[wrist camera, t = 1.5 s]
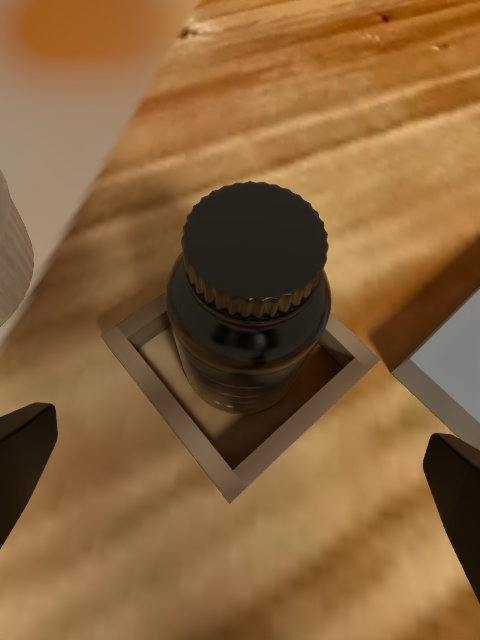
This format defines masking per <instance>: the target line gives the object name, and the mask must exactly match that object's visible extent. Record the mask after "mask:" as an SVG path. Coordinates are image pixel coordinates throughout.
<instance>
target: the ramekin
mask: <svg viewBox="0 0 480 640" xmlns="http://www.w3.org/2000/svg"><path fill="white" fill-rule="evenodd" d="M33 266H34V263H33V250H32V245H31V241H30V238H29V236H28V233H27V230H26V228H25V226H24V223H23V221H22V219H21V217H20V215H19V213H18V211H17V209H16V207H15V206H14V204H13V202H12V200H11V198H10V195H9V190H8V186H7V183H6V180H5V178H4V176H3V174H2V172H1V170H0V327H1V326H2V325H3V324H4V323H5V322H6V321H7V320H8V319H9V318H10V316H11V315H12V314H13V313H14V312H15V310H16V309H17V308H18V306H19V304H20V303H21V301H22V300H23V298H24V297H25V294H26V291H27V290H28V288H29V285H30V281H31V278H32V274H33Z"/></svg>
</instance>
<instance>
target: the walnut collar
mask: <svg viewBox="0 0 480 640" xmlns="http://www.w3.org/2000/svg"><path fill="white" fill-rule="evenodd" d="M165 294H166V293H164V294H163V295H161V296H160V297H158V298H157V299H155V300H154V301H152V302H151V303H149V304H148V305H146V306H145V307H143V308H142V309H140V310H139V311H137V312H136V313H134V314H133V315H131V316H130V317H129V318H127V319H126V320H124V321H123V322H121V323H120V324H118V325H117V326H115V327H114V328H112V329H111V330H109V331H108V332H106V333H105V334H103V335H102V336H101V337H102V338H103V340H104V341H105V343H106V344H107V345H108V347H109V348H110V350H111V351H112V352H113V354H114V355H115V356H116V358H117V359H118V360H119V361H120V363H121V364H122V365H123V367H124V368H125V369H126V370H127V372H128V373H129V374H130V376H131V377H132V378H133V380H134V381H135V382H136V383H137V385H138V386H139V387H140V389H141V390H142V391H143V392H144V394H145V395H146V396H147V398H148V399H149V400H150V402H151V403H152V404H153V405H154V407H155V408H156V409H157V411H158V412H159V413H160V414H161V416H162V417H163V418H164V420H165V421H166V422H167V424H168V425H169V426H170V427H171V429H172V430H173V431H174V433H175V434H176V435H177V436H178V438H179V439H180V440H181V442H182V443H183V444H184V446H185V447H186V448H187V449H188V451H189V452H190V453H191V455H192V456H193V457H194V458H195V460H196V461H197V462H198V464H199V465H200V466H201V468H202V469H203V470H204V471H205V473H206V474H207V475H208V477H209V478H210V479H211V480H212V482H213V483H214V484H215V486H216V487H217V488H218V490H219V491H220V492H221V493H222V495H223V496H224V497H225V499H226V500H227V501H228V502H229V503H231V502H232V501H233V500H234V499H235V498H236V497H237V496H238V495H239V494H240V493H241V492H242V491H243V490H245V489H246V488H247V487H248V486H249V485H250V484H251V483H252V482H253V481H254V480H255V479H256V478H257V477H258V476H259V475H260V474H261V473H262V472H263V471H264V470H265V469H266V468H268V467H269V466H270V465H271V464H272V463H273V462H274V461H275V460H276V459H277V458H278V457H279V456H280V455H281V454H282V453H283V452H284V451H285V450H286V449H287V448H288V447H290V446H291V445H292V444H293V443H294V442H295V441H296V440H297V439H298V438H299V437H300V436H301V435H302V434H303V433H304V432H305V431H306V430H307V429H308V428H309V427H310V426H311V425H313V424H314V423H315V422H316V421H317V420H318V419H319V418H320V417H321V416H322V415H323V414H324V413H325V412H326V411H327V410H328V409H329V408H330V407H331V406H332V405H333V404H334V403H336V402H337V401H338V400H339V399H340V398H341V397H342V396H343V395H344V394H345V393H346V392H347V391H348V390H349V389H350V388H351V387H352V386H353V385H354V384H355V383H356V382H358V381H359V380H360V379H361V378H362V377H363V376H364V375H365V374H366V373H367V372H368V371H369V370H370V369H371V368H372V367H373V366H374V365H375V364H376V363H377V362H378V361H379V360H380V359H379V358H378V357H377V356H376V355H375V354H374V353H373V352H372V351H371V350H370V349H369V348H368V347H367V346H366V345H364V344H363V343H362V342H361V341H360V340H359V339H358V338H357V337H356V336H355V335H354V334H353V333H352V332H351V331H350V330H349V329H348V328H347V327H345V326H344V325H343V324H342V323H341V322H340V321H339V320H338V319H337V318H336V317H335V316H334V315H333V314H332V313H331V312H330V315H329V319H328V322H327V325H326V327H325V330H324V332H323V334H322V336H321V338H320V340H319V341H318V343H319V344H320V345H321V346H322V347H323V348H324V349H325V350H326V351H327V352H328V353H329V354H330V355H331V356H332V357H333V358H334V359H335V360H336V361H337V362H338V363H339V364H340V365H341V366H342V367H343V369H342V370H341V371H340V372H339V373H338V374H337V375H336V376H335V377H334V378H333V379H331V380H330V381H329V382H328V383H327V384H326V385H325V386H324V387H323V388H322V389H321V390H320V391H318V392H317V393H316V394H315V395H314V396H313V397H312V398H311V399H310V400H309V401H308V402H306V403H305V404H304V405H303V406H302V407H301V408H300V409H299V410H298V411H297V412H296V413H295V414H293V415H292V416H291V417H290V418H289V419H288V420H287V421H286V422H285V423H284V424H283V425H282V426H280V427H279V428H278V429H277V430H276V431H275V432H274V433H273V434H272V435H271V436H270V437H269V438H267V439H266V440H265V441H264V442H263V443H262V444H261V445H260V446H259V447H258V448H257V449H256V450H254V451H253V452H252V453H251V454H250V455H249V456H248V457H247V458H246V459H245V460H244V461H243V462H241V463H240V464H239V465H238V466H237V467H236V468H235V469H234V470H232V469H231V468H230V467H229V466H228V464H227V463H226V462H225V461H224V459H223V458H222V457H221V456H220V454H219V453H218V452H217V451H216V449H215V448H214V447H213V446H212V444H211V443H210V442H209V441H208V439H207V438H206V437H205V436H204V434H203V433H202V432H201V431H200V429H199V428H198V427H197V426H196V424H195V423H194V422H193V421H192V419H191V418H190V417H189V416H188V414H187V413H186V412H185V411H184V409H183V408H182V407H181V406H180V404H179V403H178V402H177V401H176V399H175V398H174V397H173V396H172V394H171V393H170V392H169V391H168V389H167V388H166V387H165V386H164V384H163V383H162V382H161V381H160V379H159V378H158V377H157V376H156V374H155V373H154V372H153V371H152V369H151V368H150V367H149V366H148V364H147V363H146V362H145V361H144V359H143V358H142V357H141V356H140V354H139V353H138V352H137V351H136V349H138V348H139V347H141V346H142V345H143V344H145V343H146V342H148V341H149V340H150V339H152V338H153V337H155V336H156V335H157V334H159V333H160V332H162V331H163V330H165V329H166V328H167V327H169V326H170V322H169V318H168V314H167V308H166V298H165Z"/></svg>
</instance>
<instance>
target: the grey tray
mask: <svg viewBox="0 0 480 640" xmlns="http://www.w3.org/2000/svg"><path fill="white" fill-rule="evenodd" d="M391 373H392V374H393V375H394V376H395V377H396V378H397V379H398V380H399V381H400V382H401V383H402V384H403V385H404V386H405V387H406V388H407V389H408V390H409V391H411V392H412V393H413V394H414V395H415V396H416V397H417V398H418V399H419V400H420V401H421V402H422V403H423V404H424V405H425V406H426V407H427V408H428V409H429V410H431V411H432V412H433V413H434V414H435V415H436V416H437V417H438V418H439V419H440V420H441V421H442V422H443V423H444V424H445V425H446V426H447V427H448V428H449V429H451V430H452V431H453V432H454V433H455V434H456V435H457V436H458V437H459V438H460V439H461V440H462V441H464V442H466V443H468V444H470V445H471V446H473V447H475V448H477V449H479V450H480V285H479V286H478V287H477V288H476V289H475V290H474V291H473V292H472V293H471V294H470V295H469V296H468V297H467V298H466V299H465V300H464V301H463V302H462V303H461V304H460V305H459V306H458V307H457V308H456V309H455V310H454V311H453V312H452V313H451V314H450V315H449V316H448V317H447V318H446V319H445V320H444V321H443V322H442V323H441V324H440V325H439V326H438V327H437V328H436V329H435V330H434V331H433V332H432V333H431V334H430V335H429V336H428V337H427V338H426V339H425V340H424V341H423V342H422V343H421V344H420V345H419V346H418V347H417V348H416V349H415V350H414V351H413V352H412V353H410V354H409V355H408V356H407V357H406V358H405V359H404V360H403V361H402V362H401V363H400V364H399V365H398V366H397V367H396V368H395V369H394V370H393V371H392V372H391Z"/></svg>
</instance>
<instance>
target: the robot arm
mask: <svg viewBox="0 0 480 640" xmlns="http://www.w3.org/2000/svg"><path fill="white" fill-rule="evenodd" d="M57 436H58V431H57V420H56V410H55V407H54V405H53V404H50V403H38V402H37V403H33V404H30V405H28V406H26V407H23V408H21V409H18V410H16V411H14V412H11V413H9V414H7V415H4V416H2V417H0V549H1V547H2V546H3V544H4V542H5V541H6V539H7V537H8V536H9V534H10V532H11V531H12V529H13V527H14V526H15V524H16V522H17V521H18V519H19V517H20V516H21V514H22V512H23V510H24V509H25V507H26V505H27V503H28V502H29V500H30V498H31V496H32V494H33V491H34V489H35V487H36V485H37V483H38V481H39V479H40V476H41V474H42V472H43V470H44V468H45V466H46V464H47V461H48V459H49V457H50V455H51V453H52V451H53V449H54V446H55V444H56V441H57ZM423 470H424V473H425V476H426V479H427V482H428V485H429V487H430V490H431V493H432V496H433V498H434V501H435V504H436V507H437V509H438V512H439V515H440V518H441V521H442V523H443V526H444V528H445V531H446V533H447V536H448V538H449V540H450V542H451V544H452V547H453V549H454V551H455V553H456V555H457V557H458V559H459V561H460V563H461V565H462V568H463V570H464V572H465V574H466V576H467V578H468V580H469V582H470V584H471V587H472V589H473V591H474V593H475V595H476V597H477V599H478V601H479V603H480V450H479V449H477V448H475V447H473V446H471V445H470V444H468V443H466V442H464V441H462V440H461V439H459V438H457V437H455V436H454V435H451V434H443V433H434V434H432V435H431V437H430V439H429V443H428V446H427V450H426V453H425V456H424V460H423Z"/></svg>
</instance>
